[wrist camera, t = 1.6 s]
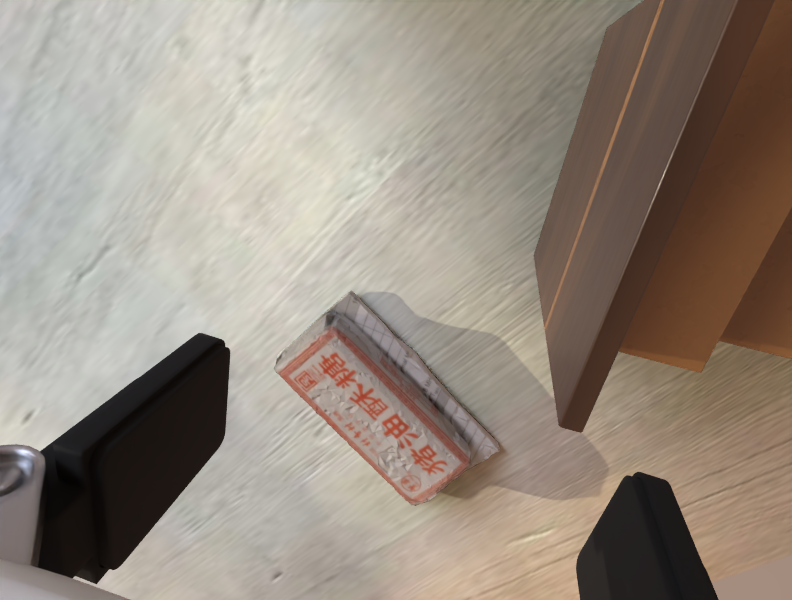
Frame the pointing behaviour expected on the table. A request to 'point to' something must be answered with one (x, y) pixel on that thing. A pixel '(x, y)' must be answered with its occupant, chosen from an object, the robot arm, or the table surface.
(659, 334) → the step shelf
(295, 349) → the packaged product
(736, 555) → the table surface
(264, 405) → the table surface
